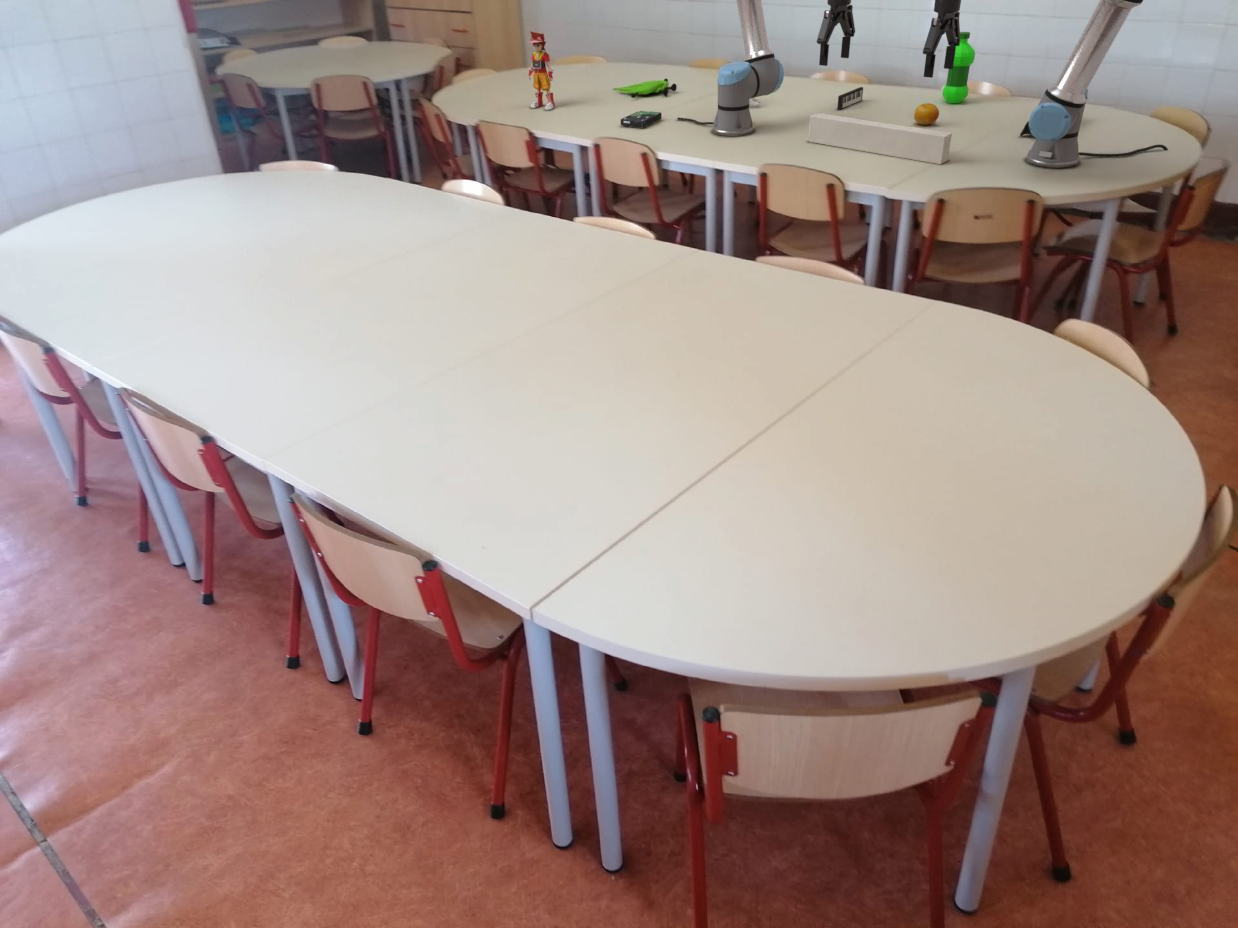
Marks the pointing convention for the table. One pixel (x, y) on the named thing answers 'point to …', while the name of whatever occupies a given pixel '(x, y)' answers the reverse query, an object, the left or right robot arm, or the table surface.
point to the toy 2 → (648, 88)
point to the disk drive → (641, 119)
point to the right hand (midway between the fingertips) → (938, 73)
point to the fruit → (926, 114)
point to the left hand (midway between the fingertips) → (834, 61)
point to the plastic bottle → (959, 71)
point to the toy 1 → (541, 71)
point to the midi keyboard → (850, 98)
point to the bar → (880, 138)
